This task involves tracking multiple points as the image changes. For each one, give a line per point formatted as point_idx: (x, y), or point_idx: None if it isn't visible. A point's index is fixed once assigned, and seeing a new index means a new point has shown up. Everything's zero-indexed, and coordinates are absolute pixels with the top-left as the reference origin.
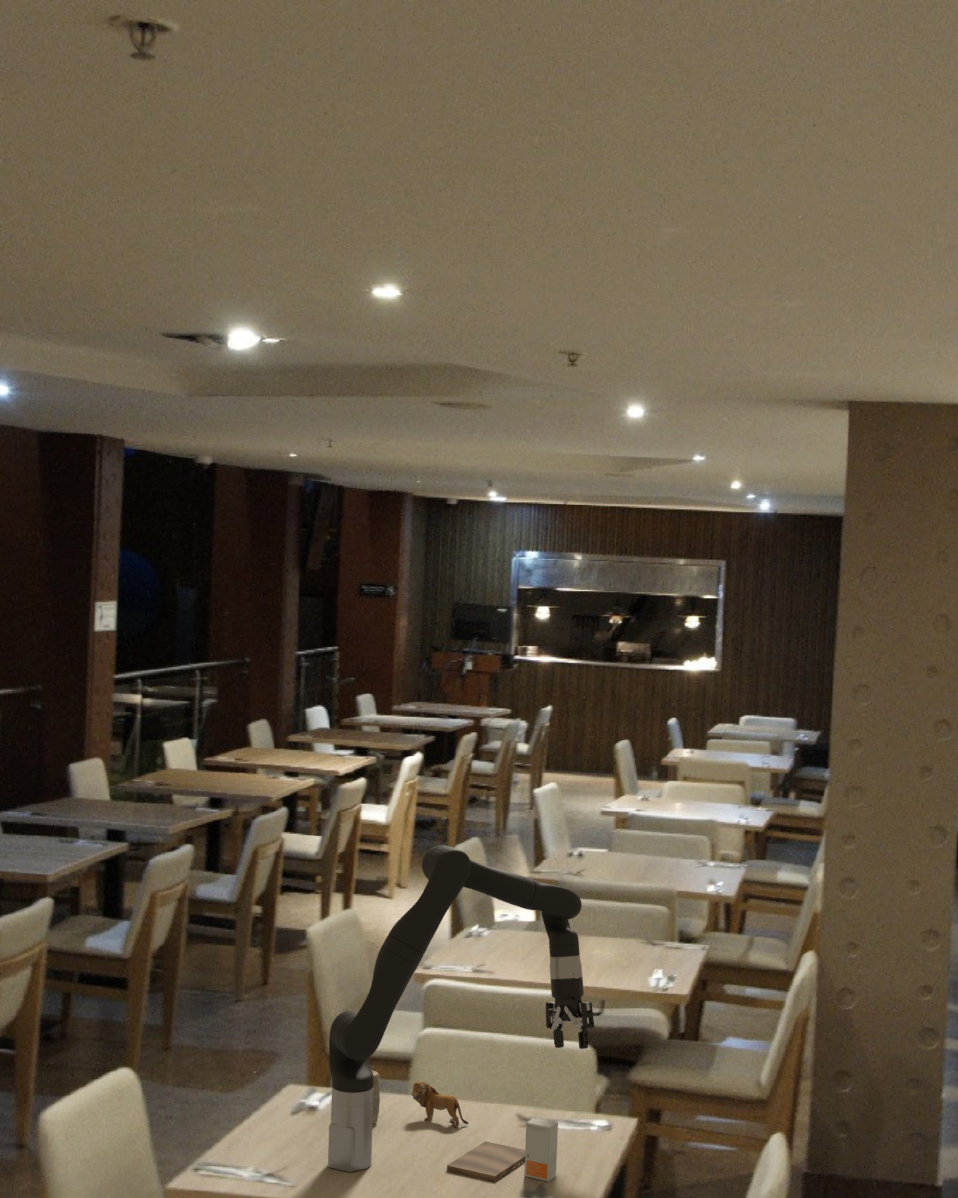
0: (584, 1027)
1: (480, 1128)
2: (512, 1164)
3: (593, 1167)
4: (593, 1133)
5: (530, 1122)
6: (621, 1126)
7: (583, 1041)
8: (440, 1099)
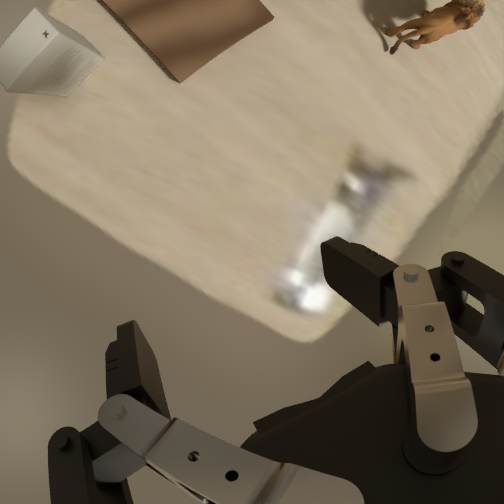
0: (60, 436)
1: (371, 67)
2: (122, 20)
3: (89, 187)
4: (267, 265)
5: (30, 17)
6: (282, 323)
7: (111, 363)
8: (440, 15)
